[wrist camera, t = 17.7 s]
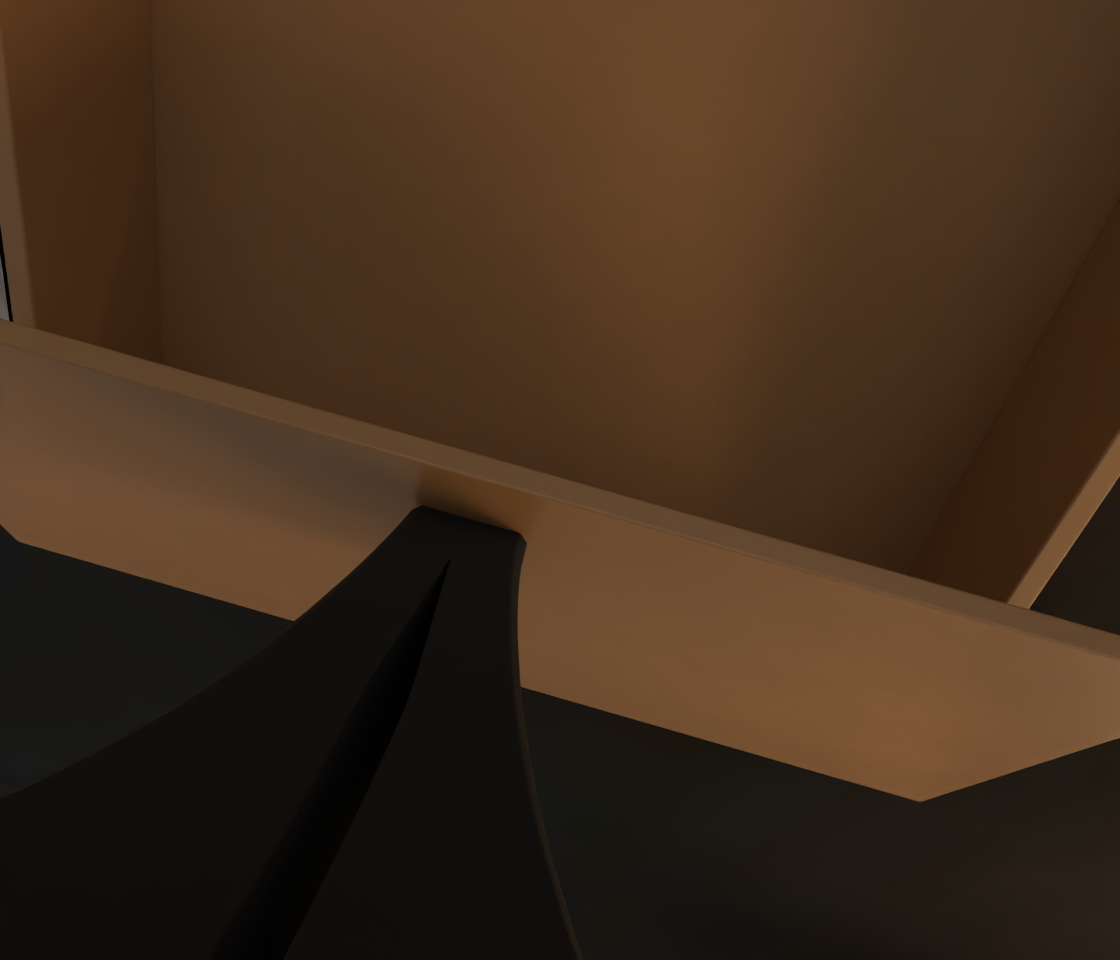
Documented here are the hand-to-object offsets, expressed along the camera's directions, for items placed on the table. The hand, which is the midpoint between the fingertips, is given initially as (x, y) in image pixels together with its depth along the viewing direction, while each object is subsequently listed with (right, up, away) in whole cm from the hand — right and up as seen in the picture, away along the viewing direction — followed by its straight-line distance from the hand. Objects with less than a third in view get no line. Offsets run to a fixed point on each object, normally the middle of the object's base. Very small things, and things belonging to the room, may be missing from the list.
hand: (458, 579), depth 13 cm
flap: (0, 0, +2) cm, 2 cm away
